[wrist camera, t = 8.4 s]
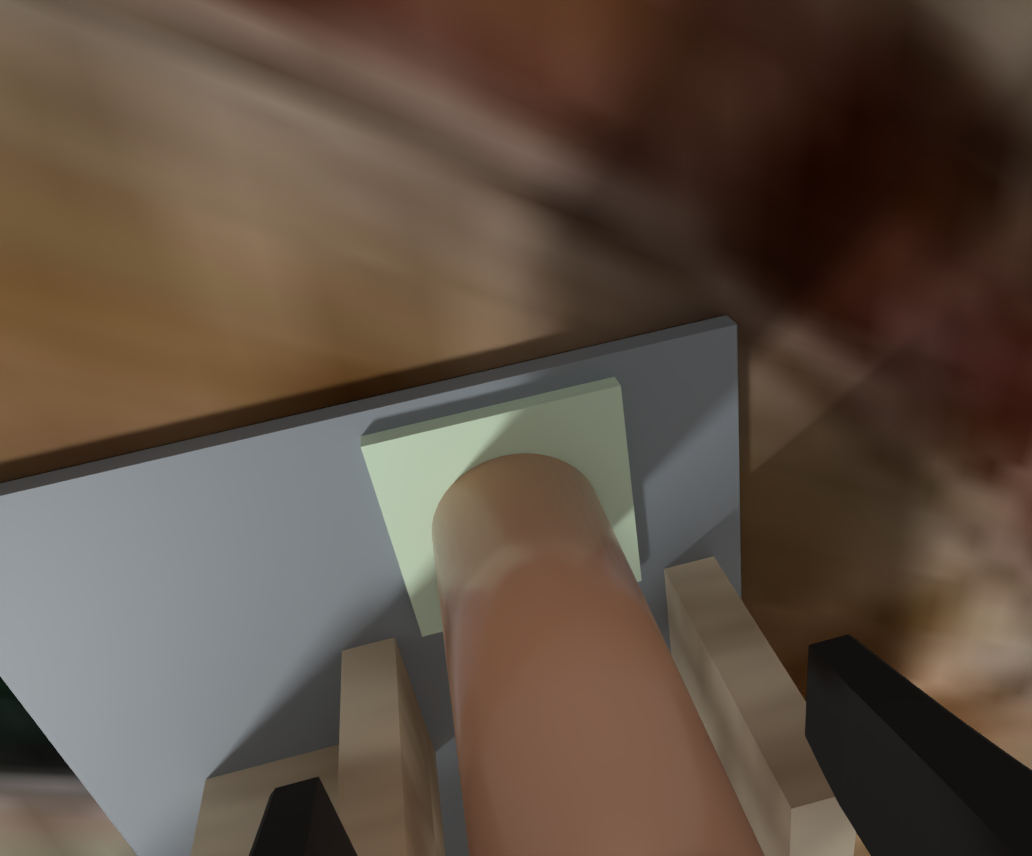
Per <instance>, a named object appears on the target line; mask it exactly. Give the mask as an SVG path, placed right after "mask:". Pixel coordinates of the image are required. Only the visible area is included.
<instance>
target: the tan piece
mask: <svg viewBox="0 0 1032 856" xmlns="http://www.w3.org/2000/svg"><path fill="white" fill-rule="evenodd" d="M664 574H665V586H666V598H667V609H668V621H669V633H670V645H671V655H672V658H673V660H674V662H675V664H676V666H677V668H678V671H679V673H680V675H681V677H682V679H683V681H684V683H685V686H686V688H687V690H688V692H689V694H690V696H691V698H692V701H693V703H694V705H695V707H696V709H697V711H698V714H699V716H700V718H701V720H702V722H703V724H704V726H705V729H706V731H707V733H708V735H709V737H710V739H711V741H712V744H713V746H714V748H715V750H716V752H717V754H718V757H719V759H720V761H721V763H722V765H723V767H724V769H725V772H726V774H727V776H728V778H729V780H730V782H731V784H732V787H733V789H734V791H735V793H736V795H737V797H738V800H739V802H740V804H741V806H742V808H743V810H744V812H745V815H746V817H747V819H748V821H749V823H750V825H751V827H752V830H753V832H754V834H755V836H756V838H757V840H758V842H759V845H760V847H761V849H762V851H763V853H764V855H765V856H853V855H854V847H855V838H856V831H855V829H854V828H853V826H852V825H851V823H850V821H849V820H848V818H847V817H846V815H845V813H844V812H843V810H842V809H841V807H840V805H839V804H838V802H837V800H836V798H835V796H834V794H833V792H832V790H831V788H830V786H829V784H828V782H827V780H826V778H825V776H824V774H823V772H822V770H821V768H820V766H819V764H818V762H817V760H816V758H815V756H814V753H813V751H812V749H811V747H810V745H809V743H808V741H807V739H806V737H805V718H806V701H805V700H804V698H803V696H802V695H801V693H800V692H799V690H798V689H797V687H796V685H795V684H794V682H793V681H792V679H791V677H790V676H789V674H788V673H787V671H786V670H785V668H784V666H783V665H782V663H781V662H780V660H779V659H778V657H777V655H776V654H775V652H774V651H773V649H772V647H771V646H770V644H769V643H768V641H767V640H766V638H765V636H764V635H763V633H762V632H761V630H760V628H759V627H758V625H757V624H756V622H755V621H754V619H753V617H752V616H751V614H750V613H749V611H748V609H747V608H746V606H745V605H744V603H743V602H742V600H741V598H740V597H739V595H738V594H737V592H736V590H735V589H734V587H733V586H732V584H731V583H730V581H729V579H728V578H727V576H726V575H725V573H724V572H723V570H722V568H721V567H720V565H719V564H718V562H717V560H716V559H715V557H714V556H713V557H709V558H705V559H701V560H697V561H693V562H689V563H685V564H681V565H677V566H673V567H669V568H665V569H664ZM318 776H319V778H320V780H321V782H322V784H323V786H324V788H325V790H326V792H327V794H328V796H329V798H330V800H331V802H332V804H333V806H334V808H335V810H336V813H337V815H338V817H339V819H340V821H341V823H342V825H343V827H344V829H345V831H346V833H347V835H348V837H349V839H350V841H351V843H352V845H353V847H354V849H355V851H356V853H357V855H358V856H445V845H444V835H443V825H442V815H441V805H440V795H439V784H438V774H437V764H436V754H435V750H434V747H433V744H432V742H431V739H430V736H429V733H428V730H427V727H426V724H425V722H424V719H423V716H422V713H421V710H420V707H419V705H418V702H417V699H416V696H415V693H414V690H413V688H412V685H411V682H410V679H409V676H408V673H407V671H406V668H405V665H404V662H403V659H402V656H401V654H400V651H399V648H398V645H397V642H396V639H395V637H394V638H390V639H386V640H382V641H378V642H374V643H370V644H366V645H362V646H358V647H355V648H351V649H347V650H343V651H342V664H341V698H340V731H339V745H335V746H331V747H327V748H323V749H320V750H316V751H312V752H308V753H304V754H301V755H297V756H293V757H289V758H285V759H282V760H278V761H274V762H270V763H266V764H262V765H259V766H255V767H251V768H247V769H243V770H240V771H236V772H232V773H228V774H224V775H221V776H217V777H213V778H209V779H206V780H205V785H204V790H203V795H202V801H201V806H200V811H199V816H198V821H197V826H196V831H195V836H194V841H193V846H192V851H191V856H249V853H250V850H251V848H252V845H253V842H254V839H255V837H256V834H257V831H258V828H259V825H260V823H261V820H262V817H263V814H264V811H265V808H266V805H267V802H268V799H269V796H270V794H271V793H272V792H273V791H274V789H275V788H277V787H281V786H285V785H288V784H292V783H296V782H300V781H303V780H307V779H311V778H315V777H318Z"/></svg>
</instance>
